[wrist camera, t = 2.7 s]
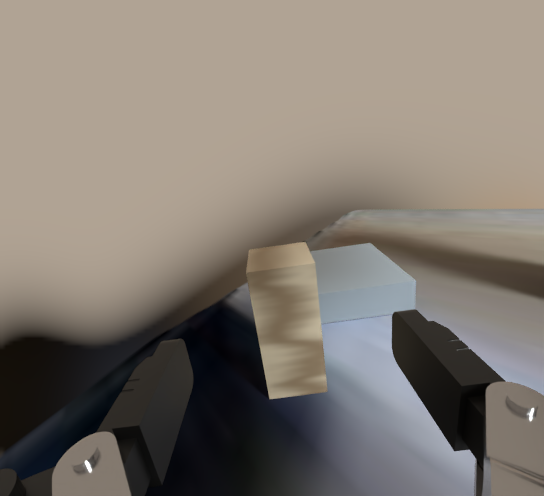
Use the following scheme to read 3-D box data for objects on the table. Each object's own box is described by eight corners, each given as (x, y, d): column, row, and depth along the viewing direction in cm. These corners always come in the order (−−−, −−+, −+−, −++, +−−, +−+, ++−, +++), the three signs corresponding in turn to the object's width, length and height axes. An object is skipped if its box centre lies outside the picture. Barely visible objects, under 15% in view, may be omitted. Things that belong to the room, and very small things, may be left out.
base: (370, 265, 45) (370, 242, 44) (414, 311, 32) (416, 280, 31) (287, 277, 46) (284, 254, 44) (296, 327, 32) (293, 297, 31)
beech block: (316, 351, 28) (305, 241, 24) (327, 391, 23) (315, 263, 19) (268, 358, 28) (249, 249, 24) (269, 399, 23) (246, 272, 20)
